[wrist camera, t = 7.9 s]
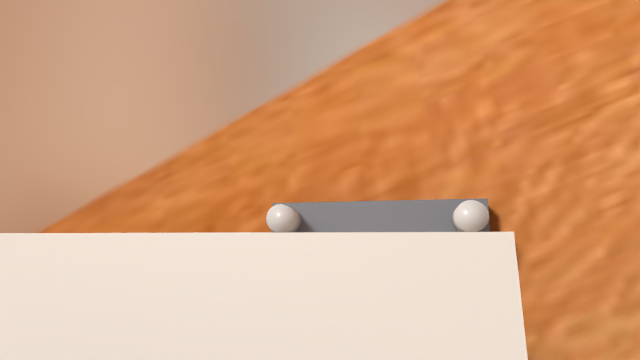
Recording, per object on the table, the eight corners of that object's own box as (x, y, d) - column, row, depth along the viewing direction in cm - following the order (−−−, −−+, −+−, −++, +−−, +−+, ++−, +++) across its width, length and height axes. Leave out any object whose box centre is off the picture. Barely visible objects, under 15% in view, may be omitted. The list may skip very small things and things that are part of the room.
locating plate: (483, 201, 18) (494, 192, 16) (504, 449, 16) (521, 483, 13) (278, 206, 21) (261, 198, 18) (269, 418, 18) (248, 442, 16)
